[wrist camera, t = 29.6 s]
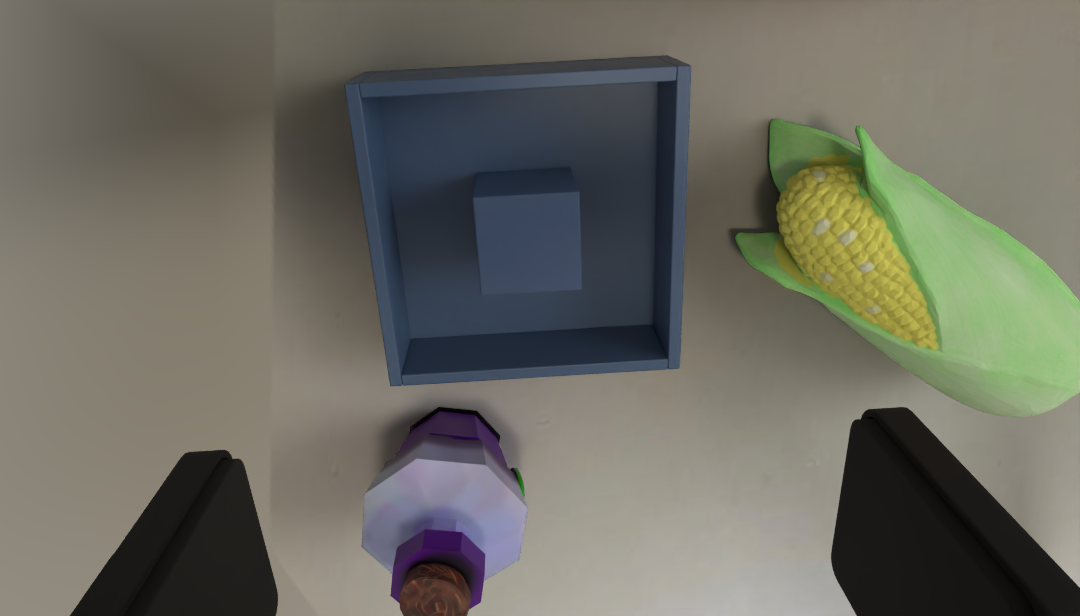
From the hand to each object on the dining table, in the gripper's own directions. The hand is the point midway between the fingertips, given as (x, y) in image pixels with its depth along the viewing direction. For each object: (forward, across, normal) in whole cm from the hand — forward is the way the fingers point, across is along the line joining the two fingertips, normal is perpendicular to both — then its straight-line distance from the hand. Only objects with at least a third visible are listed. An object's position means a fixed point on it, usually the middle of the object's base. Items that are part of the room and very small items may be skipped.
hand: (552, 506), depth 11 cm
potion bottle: (+26, +5, +17) cm, 32 cm away
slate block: (+26, 0, +3) cm, 26 cm away
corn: (+26, -19, +7) cm, 33 cm away
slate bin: (+26, 0, +3) cm, 26 cm away
